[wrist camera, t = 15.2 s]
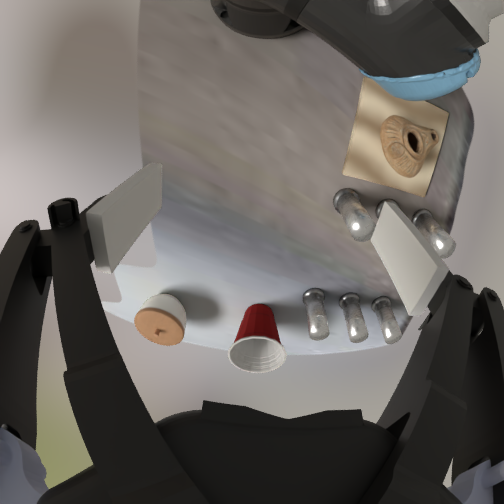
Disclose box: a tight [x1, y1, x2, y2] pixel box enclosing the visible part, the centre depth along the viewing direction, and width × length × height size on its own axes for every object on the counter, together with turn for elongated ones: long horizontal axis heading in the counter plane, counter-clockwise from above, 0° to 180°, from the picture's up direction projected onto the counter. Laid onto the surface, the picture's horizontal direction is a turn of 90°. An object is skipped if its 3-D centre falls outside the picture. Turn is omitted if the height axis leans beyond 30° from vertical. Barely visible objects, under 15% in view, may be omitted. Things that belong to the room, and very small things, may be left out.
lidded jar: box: [134, 294, 186, 346], centre depth 54 cm, size 11×11×9 cm
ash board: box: [342, 77, 449, 197], centre depth 35 cm, size 16×16×1 cm
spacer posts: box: [303, 188, 456, 344], centre depth 44 cm, size 25×20×10 cm
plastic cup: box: [228, 304, 287, 373], centre depth 52 cm, size 11×11×12 cm
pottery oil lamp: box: [380, 115, 439, 178], centre depth 32 cm, size 9×12×7 cm
